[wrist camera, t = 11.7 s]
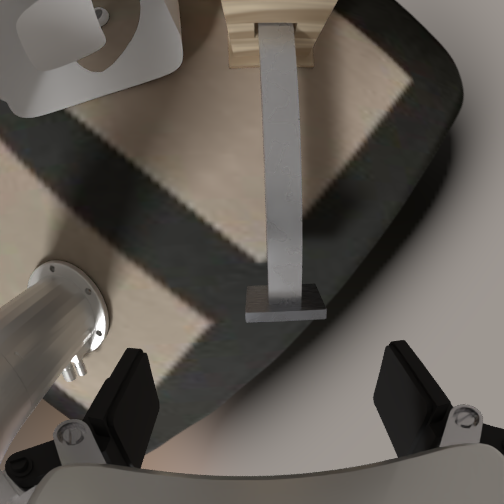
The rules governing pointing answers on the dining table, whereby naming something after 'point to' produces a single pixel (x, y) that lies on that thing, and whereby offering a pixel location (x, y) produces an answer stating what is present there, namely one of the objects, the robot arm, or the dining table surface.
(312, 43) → the bracket
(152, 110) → the dining table surface
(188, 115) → the dining table surface
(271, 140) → the shaft
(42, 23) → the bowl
